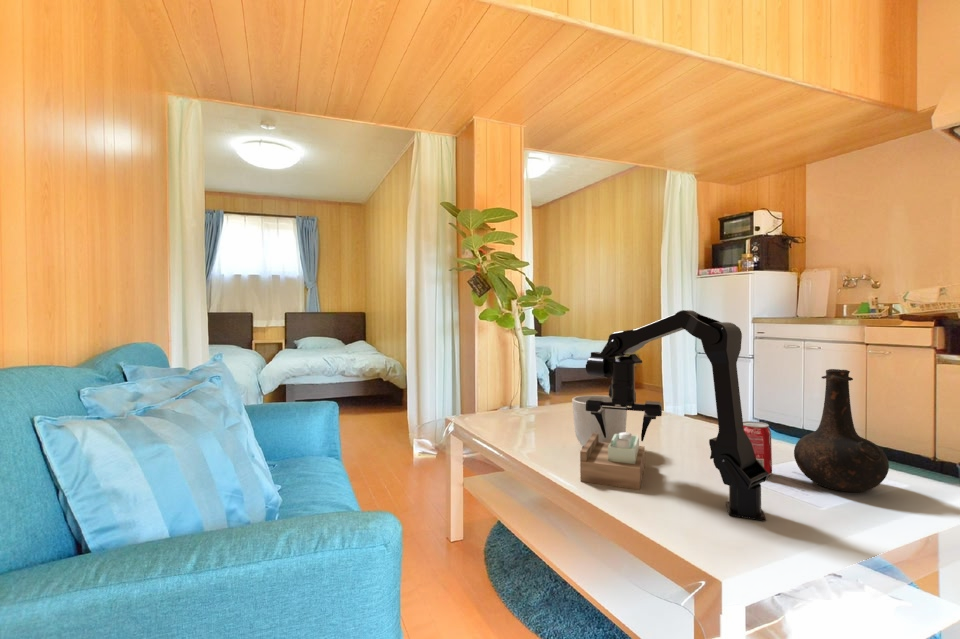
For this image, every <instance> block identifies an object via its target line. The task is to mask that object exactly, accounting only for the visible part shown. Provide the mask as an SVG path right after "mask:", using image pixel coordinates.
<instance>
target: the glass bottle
mask: <svg viewBox="0 0 960 639" xmlns="http://www.w3.org/2000/svg"><path fill="white" fill-rule="evenodd" d="M850 372H851V371H850V370H848V369H839V368H829V369H826V370H825V375H823V376H821V379H823V380H824V379H825V391H824V401H823V408H822V415H821V418H820V423H819V425H818V427H817V429H816V430H815V431H812V432H811V433H807V434H806V435H804V436H802V437H801V438H800V439H798V440H797V442H796V444H795V446H794V450H793V455H794V459H795V463H796V464H797V468H799V469H800V472H802V473H803V475H804V476H805V477H806V478H808V479H809V480H811V481H812V482H813V483H815V484H817V485H819V486H820V487H821V486H822V487H824V488H827V489H830V490H835V491H839V492H840V491H841V492H848V493H849V492H850V493H861V492H867V491H869V490H872V489H874V488H876V487H879V485H880V484H881V483H882V482H883V481H884V480H885V479H886V478H887V475H888V472H889V470H890V464H889V459H888V457H887V454H886V453H885V452H884V450H883V449H882V448H881V447H879V446H878V445H877V444H876V443H874V442H873V441H871V440H869V439H867V438H864V437H861V436H860V435H859V433H857V431H856V428H855V426H854V421H853V414H852V413H853V412H852V407H851V398H850V397H851V396H850V382H849V381H853V380H854V378H853V377H851V376H850V375H849V374H850Z"/></svg>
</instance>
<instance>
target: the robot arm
mask: <svg viewBox="0 0 960 639" xmlns="http://www.w3.org/2000/svg"><path fill="white" fill-rule="evenodd" d="M683 330H685V331H686V332H687V333H688V334H690V335H691V336H692V337H694V338H697V339H699V340H700V341H701V344H702V348H703V351H704V354H705V356H706V357H707V359H708V361H709V362H710V364H711V368H712V378H713V387H714V397H715V405H716V416H717V417H716V418H717V426H718V432H717V435H716V437H712V438H710V439H709V440H708V442H709V443H708V444H709V447H710V448H709V449H710V456H709V459H710V460H713V466H715V467H714V468H716V469H717V470H718V471H719V473H720V477H721V480H722V483H723V484H724V485H725V486H728V487H729V488H728V490H729V491H728V493H729V494H728V496H729V497H728V498H729V501H725V506H726V509H727V513H728V515H729V516H731V517H736V518H737V517H738V518H743V519H750V520H757V521H763V522H766V520H767V517H766V516H765V512H764V510H763V509H762V483H764V482H766V481H767V479H768V477H769V476H768V475H769V473H768V472H767V471H766V469H765V468H764V467H763V466H762V465H761V464H760V463H759V462H758V461H757V459H756V457H755V453H754V450H753V447H752V443H751V441H750V440H749V438H748V436H747V435H746V433H745V431H744V427H743V422H744V418H743V410H742V402H741V394H740V393H741V392H740V384H739V383H740V382H739V375H738V366H737V365H738V364H737V363H738V360H739V356H740V354H741V350H742V342H743V341H742V338H743V336H742V335H743V334H742V330H741V328H740V327H739V326H737V325H736V324H735V323H732V322H728V321H726V322H725V321H724V322H722V321H719V320H716V319H715V318H712V317H708V316H705V315H702V314H700V313H699V312H696V311H694V310H691V309H689V310H685V309H684V310H683V309H682V310H679V311H677V312H675V313H673V314H671V315H669V316H666V317H664V318H661V319H659V320H658V319H657V320H656V321H654V322H652V323H648V324H646V325H643V326H641V327H637V328H636V329H635V328H634V329H627V330H621V331H616V332H613V333H611V334H610V335H609V336H608V339H607V342H606V344H605V345H604V347H603V349H602V350H601V351H600V352H599V351H591V352H590V356H589V357H588V359H587V361H586V364H585V370H586V373H587V374H588V376H590V377H597V378H606V379H608V378H609V379H610V378H611V384H610V385H609V387H608V396H609V397H610V398H612V402H604V400H603V398H592V397H591V398H590V399H589V400H587V401H586V411H591V414H592V415H595V417H596V419H597V421H598V423H599V425H600V427H601V430H602V432H603V435H604V438H606V437H607V430H606V422H605V409H618V410H627V411H632V412H633V411H636V412H644V413H643V418H642V425H641V434H640V440H641V441H640V442H644V439H645V437H646V433H647V429H648V427H649V426H650V423H651V422H652V420H657V417H662V413H663V404H662V402H661V401H653V400H645V403H637V392H636V391H635V390H636V389H635V387H636V386H635V383H636V382H635V372H636V371H635V365H636V364H637V365H638V364H642V363H643V360H642V359H641V358H639V356H638V355H637V354H636V352H637V351H639V350H641V349H642V348H644V346H645V345H646V344H648V343H650V342H653V341H656V340H659V339H662V338H664V337H666V336H667V337H668V336H669V335H672V334H675V333H678V332H680V331H683ZM627 354H629V356H626V355H627ZM615 405H620V406H615ZM603 408H604V409H603Z"/></svg>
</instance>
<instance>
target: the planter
mask: <svg viewBox="0 0 960 639" xmlns="http://www.w3.org/2000/svg"><path fill="white" fill-rule="evenodd" d="M591 397H592V398H603V400H604V402H612V398H610V397H609V395H604V394H603V395H601V394H600V395H597V394H596V395H595V394H593V395H591V394H590V395H577V396H575V397H572V399H571V401H572V403H571V404H572V414H573V427H574V429H573V430H574V433H575V437H576V440H577V441H578V442H579V444H580V445H581V446H582V447H584V445H585V444H586V443H587V441H588V440H589V438H590V437H591V435H592V434H593V433H599V442H606V443H610V442H611V440H612V438H613V436H614V434H619V433H621V432H627V416H628V410H618V409H605V422H606V430H607V437H606V438H604V435H603V432H602V430H601V427H600V425H599V423H598V421H597V419H596V417H595V415H592V414H591V411H586V401H587V400H589V399H590V398H591ZM615 406H620V405H615ZM603 409H604V408H603Z"/></svg>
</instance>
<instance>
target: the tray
mask: <svg viewBox="0 0 960 639" xmlns="http://www.w3.org/2000/svg"><path fill="white" fill-rule="evenodd" d="M639 446H640V436H639V435H632V433H630V432H628V431H626V432H621V433H619V434H614V436H613V438H612V440H611V442H610V444H609V446H608V461H613V462H621V463H630V464H635V462H636V458H637V454H638V451H639Z"/></svg>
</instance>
